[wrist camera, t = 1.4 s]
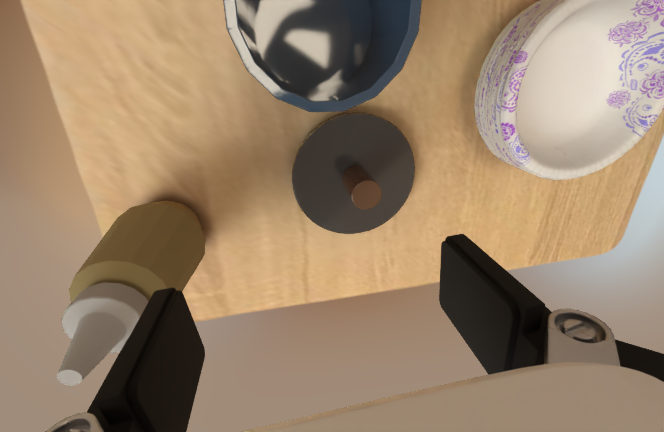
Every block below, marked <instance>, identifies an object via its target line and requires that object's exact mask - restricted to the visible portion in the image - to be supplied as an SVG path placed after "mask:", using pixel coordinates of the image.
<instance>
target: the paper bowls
mask: <svg viewBox="0 0 664 432" xmlns="http://www.w3.org/2000/svg"><path fill="white" fill-rule="evenodd" d="M663 108H664V0H539V1H537V2H536V3H534V4H532V5H530V6H529V7H527V8H526V9H525V10H523V11H522V12H521V13H519V14H518V15H517V16H516V17H514V18H513V19H512V20H511V21H510V22H509V24H507V26H506V27H505V28H504V29H503V30H502V32H501V33H500V34H499V35H498V37H497V38H496V40H495V42H494V43H493V46H492V48H491V49H490V51H489V53H488V55H487V57H486V59H485V61H484V63H483V66H482V69H481V71H480V77H479V78H478V82H477V87H476V93H475V109H474V110H475V118H476V124H477V127H478V131H479V133H480V136H481V137H482V139H483V141H484V143H485V145H486V146H487V148H488V149H489V150H490V151H491V152H492V154H494V155H495V156H496V157H497V158H499V159H500V160H502V161H504V162H505V163H507V164H510V165H512V166H514V167H517V168H519V169H521V170H523V171H526V172H528V173H531V174H533V175H536V176H538V177H541V178H544V179H551V180H564V179H573V178H578V177H582V176H585V175H588V174H591V173H593V172H596V171H598V170H600V169H602V168H604V167H606V166H608V165H609V164H611V163H613V162H614V161H616V160H617V159H618V158H620V157H621V156H623V155H624V154H625V153H626V152H627V151H629V150H630V149H631V148H632V147H633V146H634V145H635V144H636V143H637V142H638V141H639V140H640V139H641V138H642V137H643V136H644V135H645V133H646V132H647V131H648V130H649V129H650V127H651V126H652V125H653V124H654V122H655V121H656V119H657V118H658V116H659V115H660V113H661V112H662V110H663Z"/></svg>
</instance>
